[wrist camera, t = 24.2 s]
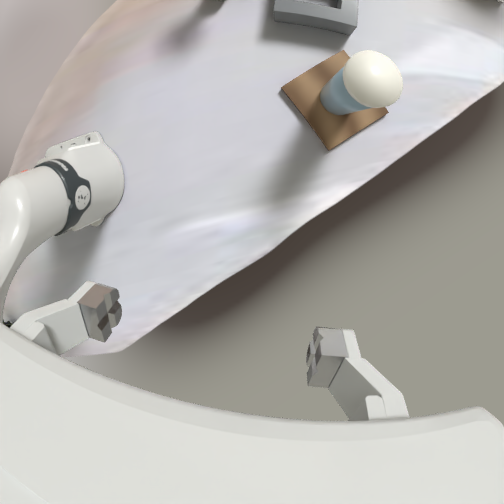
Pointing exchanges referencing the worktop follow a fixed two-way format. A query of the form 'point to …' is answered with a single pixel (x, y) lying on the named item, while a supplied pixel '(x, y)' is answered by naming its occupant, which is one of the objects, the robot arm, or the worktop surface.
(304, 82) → the board
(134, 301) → the worktop surface
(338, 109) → the blue bottle
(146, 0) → the worktop surface
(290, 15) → the housing
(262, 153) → the worktop surface
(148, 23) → the worktop surface
